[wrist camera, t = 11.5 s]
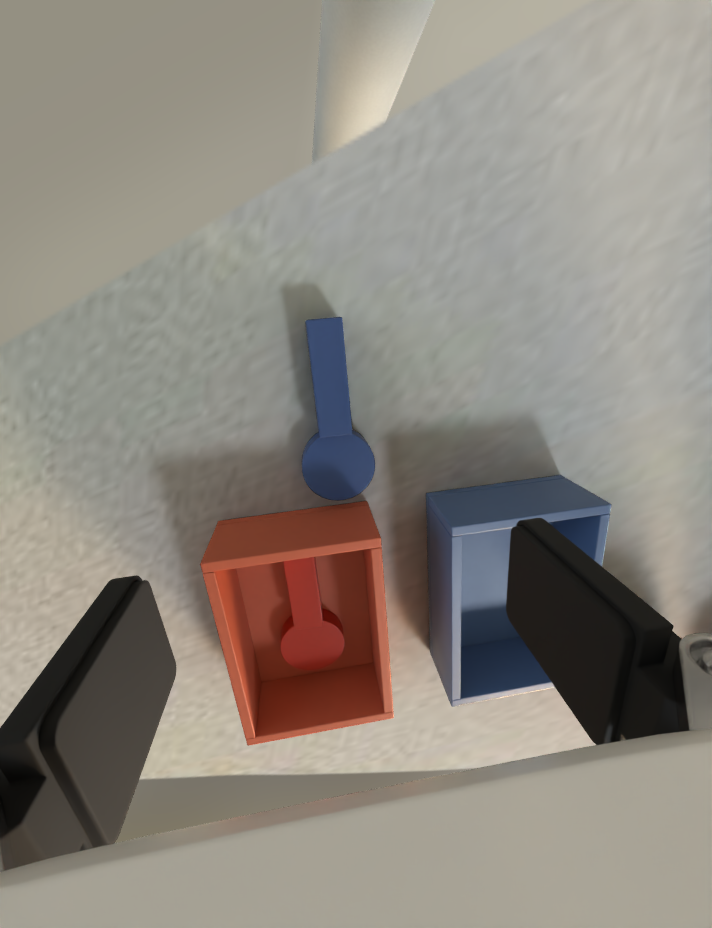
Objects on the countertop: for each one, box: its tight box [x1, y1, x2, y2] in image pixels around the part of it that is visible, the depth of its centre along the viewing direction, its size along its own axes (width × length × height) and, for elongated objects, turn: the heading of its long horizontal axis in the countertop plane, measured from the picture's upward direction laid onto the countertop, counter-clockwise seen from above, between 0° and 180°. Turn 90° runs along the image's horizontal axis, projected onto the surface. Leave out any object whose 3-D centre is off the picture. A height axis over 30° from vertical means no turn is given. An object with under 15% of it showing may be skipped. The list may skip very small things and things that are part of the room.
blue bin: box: [426, 475, 611, 707], centre depth 25 cm, size 13×9×5 cm
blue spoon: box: [302, 317, 375, 500], centre depth 22 cm, size 10×4×2 cm, turn 5°
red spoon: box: [280, 557, 345, 670], centre depth 25 cm, size 10×4×2 cm, turn 4°
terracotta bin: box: [200, 501, 394, 745], centre depth 24 cm, size 13×9×5 cm
